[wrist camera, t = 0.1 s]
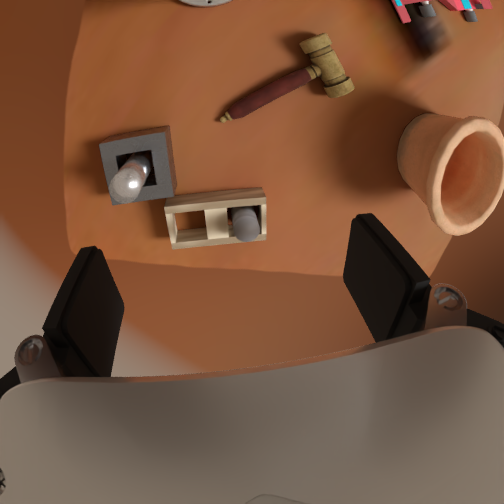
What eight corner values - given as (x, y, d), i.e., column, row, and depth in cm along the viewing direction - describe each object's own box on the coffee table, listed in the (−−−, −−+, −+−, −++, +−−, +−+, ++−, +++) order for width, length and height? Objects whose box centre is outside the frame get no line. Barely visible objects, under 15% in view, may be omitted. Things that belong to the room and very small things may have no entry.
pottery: (403, 82, 39) (458, 96, 27) (472, 123, 44) (519, 146, 32) (370, 188, 51) (411, 227, 39) (441, 207, 56) (480, 241, 44)
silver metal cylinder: (129, 150, 41) (106, 176, 31) (153, 146, 41) (135, 171, 32) (133, 173, 43) (113, 205, 34) (156, 169, 44) (141, 201, 34)
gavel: (238, 151, 41) (200, 96, 36) (237, 142, 45) (203, 93, 39) (359, 88, 36) (330, 31, 30) (348, 85, 39) (320, 33, 34)
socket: (109, 136, 39) (98, 144, 35) (169, 125, 40) (164, 131, 36) (120, 192, 45) (112, 205, 41) (177, 184, 46) (173, 196, 42)
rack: (167, 196, 47) (161, 216, 41) (261, 187, 48) (269, 205, 43) (174, 236, 51) (170, 259, 46) (262, 228, 53) (269, 250, 47)
